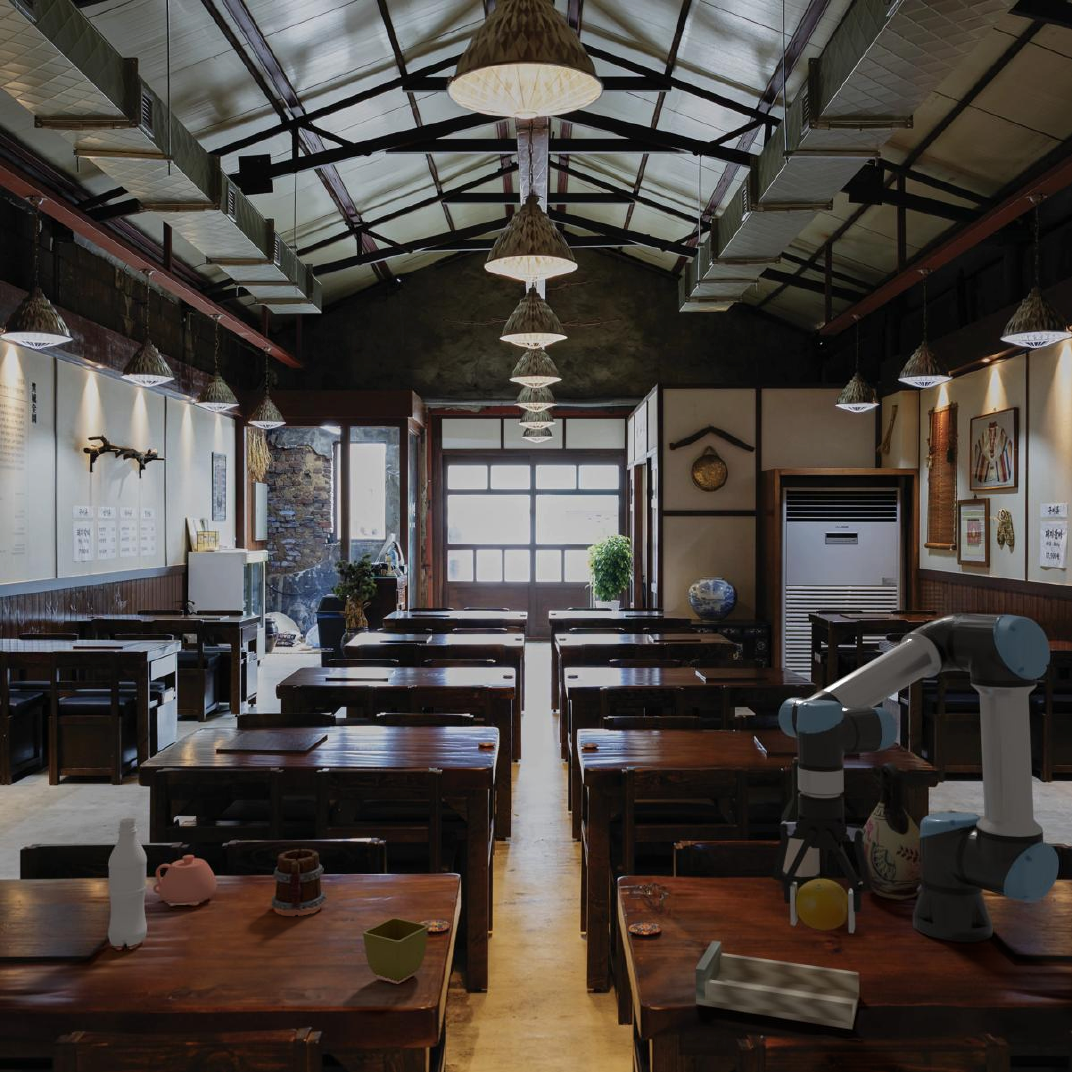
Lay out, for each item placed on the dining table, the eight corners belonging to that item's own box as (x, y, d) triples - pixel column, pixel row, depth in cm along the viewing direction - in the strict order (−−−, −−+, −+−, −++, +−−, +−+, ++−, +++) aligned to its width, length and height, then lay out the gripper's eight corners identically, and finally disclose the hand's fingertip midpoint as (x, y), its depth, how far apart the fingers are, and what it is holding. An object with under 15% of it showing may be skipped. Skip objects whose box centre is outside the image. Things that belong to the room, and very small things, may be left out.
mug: (328, 895, 228) (327, 833, 226) (324, 928, 214) (323, 862, 212) (275, 898, 226) (273, 835, 224) (268, 932, 212) (266, 866, 210)
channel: (859, 995, 174) (858, 960, 174) (852, 1029, 162) (851, 991, 162) (713, 973, 184) (712, 940, 184) (695, 1003, 171) (695, 968, 171)
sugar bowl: (206, 910, 220) (206, 864, 220) (142, 911, 220) (142, 864, 220) (224, 892, 232) (224, 847, 232) (164, 892, 232) (164, 848, 232)
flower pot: (399, 992, 177) (398, 941, 177) (361, 982, 182) (361, 931, 182) (430, 974, 185) (429, 925, 185) (393, 965, 189) (393, 917, 189)
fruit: (793, 932, 168) (792, 884, 168) (798, 916, 176) (798, 870, 176) (847, 939, 165) (847, 890, 165) (851, 923, 172) (850, 876, 173)
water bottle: (154, 942, 201) (154, 817, 202) (126, 955, 195) (126, 826, 196) (128, 937, 204) (128, 814, 205) (99, 949, 198) (100, 822, 199)
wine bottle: (821, 896, 225) (819, 762, 225) (783, 894, 226) (781, 761, 227) (818, 884, 233) (816, 755, 234) (781, 882, 235) (779, 754, 235)
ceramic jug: (849, 882, 234) (847, 753, 235) (915, 882, 234) (913, 753, 235) (871, 907, 217) (868, 769, 218) (943, 907, 217) (940, 768, 218)
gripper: (889, 793, 170) (891, 927, 169) (760, 783, 178) (762, 911, 178) (886, 803, 163) (888, 943, 163) (753, 792, 171) (754, 925, 171)
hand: (822, 926), depth 170 cm, fingers closed on fruit, 9 cm apart
